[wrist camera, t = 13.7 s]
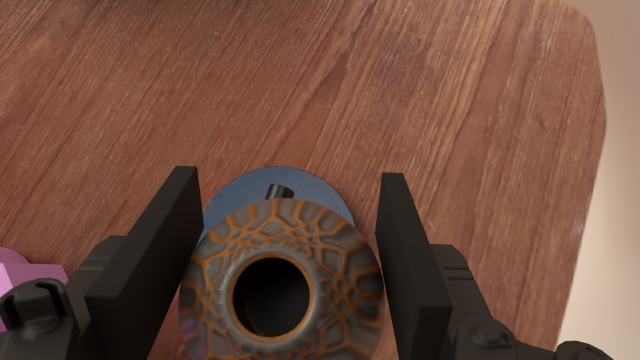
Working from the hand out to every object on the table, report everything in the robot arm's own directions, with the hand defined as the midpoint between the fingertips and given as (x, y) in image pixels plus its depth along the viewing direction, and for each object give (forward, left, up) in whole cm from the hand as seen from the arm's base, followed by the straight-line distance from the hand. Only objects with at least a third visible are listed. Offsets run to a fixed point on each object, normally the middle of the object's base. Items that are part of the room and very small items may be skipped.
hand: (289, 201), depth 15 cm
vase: (-1, +3, -4) cm, 5 cm away
